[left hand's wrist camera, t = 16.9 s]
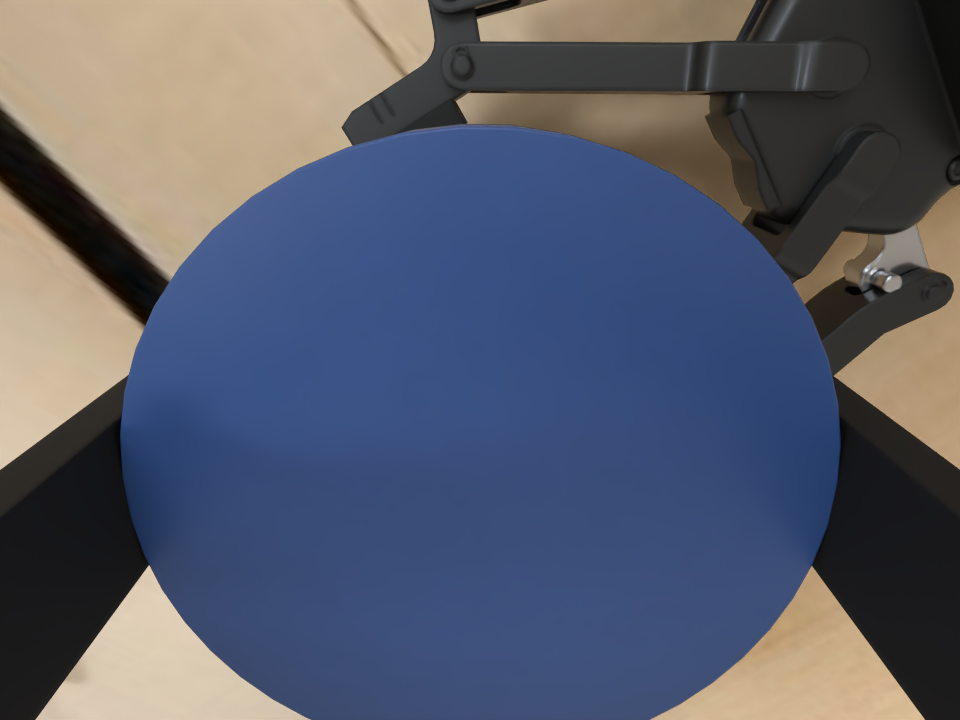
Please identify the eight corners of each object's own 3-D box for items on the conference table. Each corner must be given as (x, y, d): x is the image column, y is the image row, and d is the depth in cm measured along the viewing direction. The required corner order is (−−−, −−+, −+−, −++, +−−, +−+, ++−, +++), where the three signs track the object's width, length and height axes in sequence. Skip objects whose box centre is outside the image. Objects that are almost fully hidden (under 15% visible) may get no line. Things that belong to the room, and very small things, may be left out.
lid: (317, 729, 14) (295, 810, 13) (51, 251, 11) (-30, 278, 9) (826, 605, 13) (877, 677, 12) (728, 17, 9) (783, -4, 8)
